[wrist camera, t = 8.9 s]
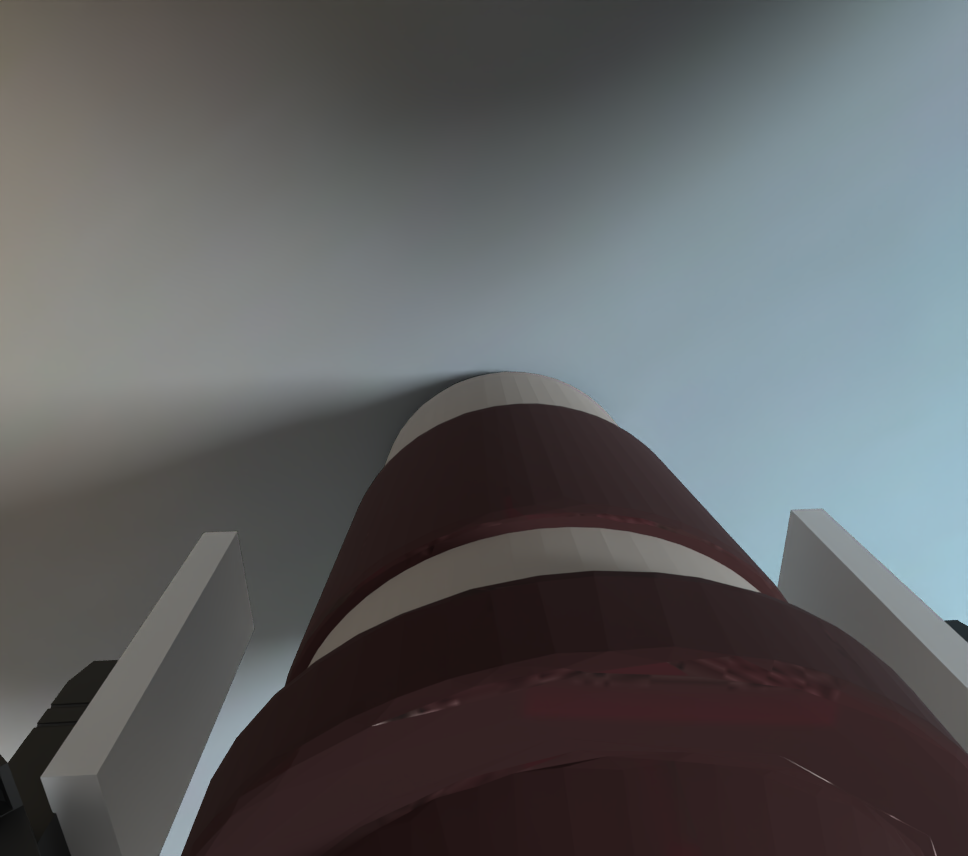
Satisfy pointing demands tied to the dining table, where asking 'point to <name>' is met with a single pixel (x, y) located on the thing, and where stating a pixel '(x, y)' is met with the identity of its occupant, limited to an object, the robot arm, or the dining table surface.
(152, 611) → the robot arm
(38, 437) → the dining table surface
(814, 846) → the coffee cup
